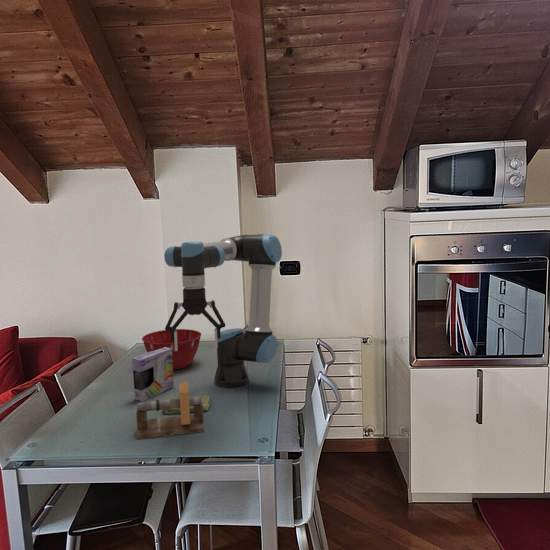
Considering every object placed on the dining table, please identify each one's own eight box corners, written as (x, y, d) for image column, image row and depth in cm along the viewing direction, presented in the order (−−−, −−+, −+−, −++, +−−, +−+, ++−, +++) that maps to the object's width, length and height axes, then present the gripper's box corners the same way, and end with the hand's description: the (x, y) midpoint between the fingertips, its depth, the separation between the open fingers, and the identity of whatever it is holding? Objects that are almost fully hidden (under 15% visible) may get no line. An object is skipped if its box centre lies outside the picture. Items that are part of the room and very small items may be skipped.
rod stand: (202, 417, 175) (200, 390, 174) (204, 431, 164) (202, 402, 162) (139, 424, 171) (137, 396, 170) (136, 439, 159) (134, 409, 158)
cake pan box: (140, 403, 192) (137, 359, 190) (131, 400, 194) (129, 357, 192) (175, 388, 208) (172, 347, 206) (166, 386, 210) (164, 346, 208)
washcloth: (209, 413, 180) (209, 404, 180) (161, 416, 179) (160, 408, 178) (210, 400, 193) (210, 392, 193) (165, 403, 192) (165, 395, 191)
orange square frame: (189, 411, 174) (187, 381, 172) (190, 423, 163) (188, 392, 162) (180, 412, 173) (179, 382, 172) (181, 424, 162) (179, 393, 161)
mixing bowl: (208, 369, 232) (207, 338, 230) (147, 378, 221) (145, 345, 220) (195, 355, 258) (194, 326, 256) (140, 362, 247) (138, 332, 246)
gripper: (155, 290, 159) (158, 353, 161) (231, 287, 163) (233, 349, 165) (157, 287, 167) (160, 348, 169) (230, 284, 170) (232, 344, 172)
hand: (196, 348), depth 167 cm, fingers open, 13 cm apart
